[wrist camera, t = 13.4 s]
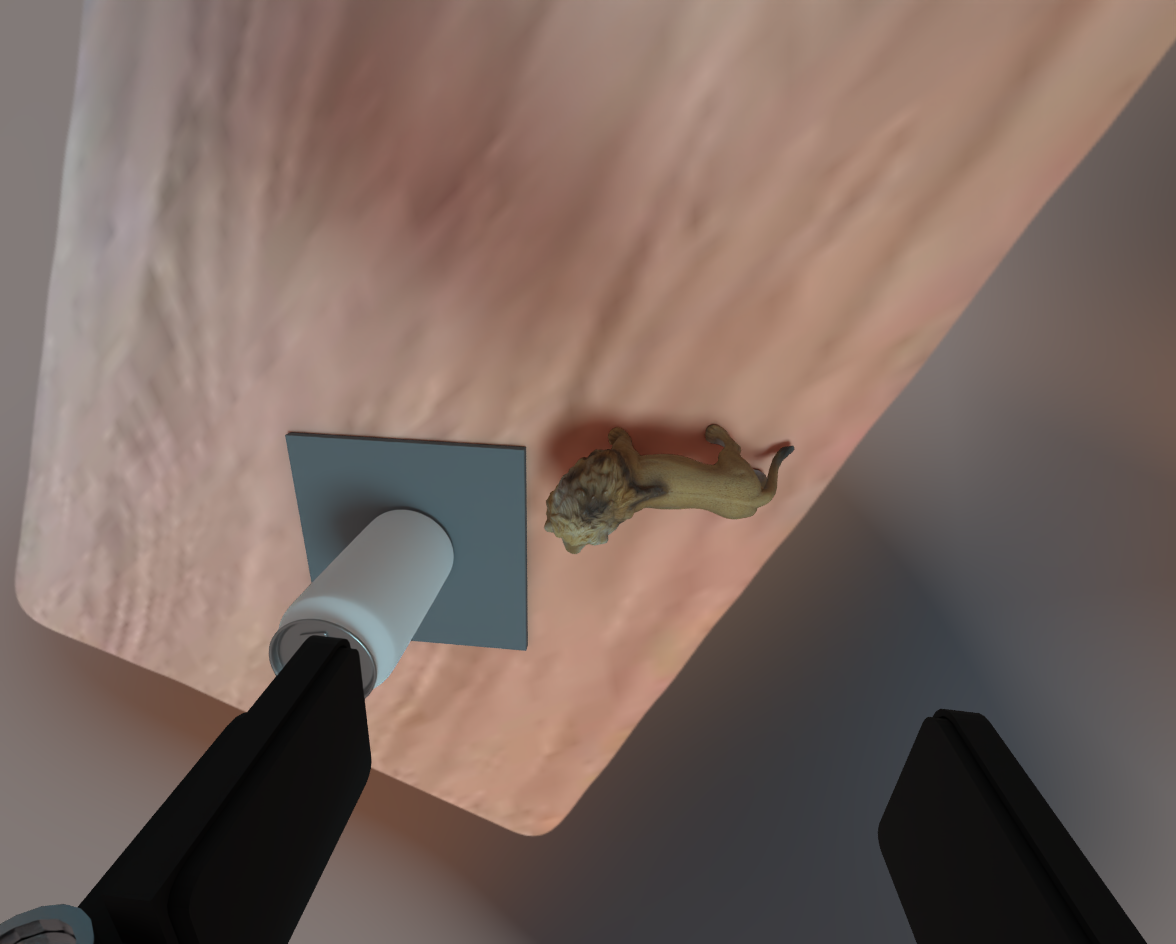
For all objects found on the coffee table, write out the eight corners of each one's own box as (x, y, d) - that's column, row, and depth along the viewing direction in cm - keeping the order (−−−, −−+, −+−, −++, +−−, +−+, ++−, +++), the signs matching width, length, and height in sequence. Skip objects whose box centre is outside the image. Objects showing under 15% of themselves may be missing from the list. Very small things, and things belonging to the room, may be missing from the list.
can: (382, 591, 41) (287, 718, 30) (354, 512, 39) (240, 619, 28) (466, 582, 40) (400, 710, 29) (442, 500, 38) (360, 606, 27)
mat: (290, 432, 38) (285, 435, 37) (526, 447, 37) (524, 450, 36) (324, 627, 44) (320, 632, 43) (527, 645, 43) (526, 650, 42)
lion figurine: (568, 506, 38) (548, 579, 30) (554, 431, 36) (528, 487, 28) (792, 481, 36) (838, 552, 28) (790, 401, 34) (838, 451, 26)
